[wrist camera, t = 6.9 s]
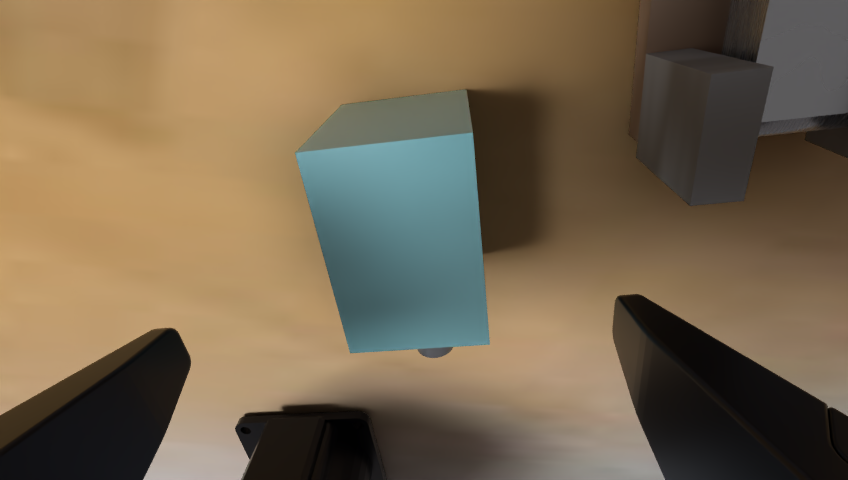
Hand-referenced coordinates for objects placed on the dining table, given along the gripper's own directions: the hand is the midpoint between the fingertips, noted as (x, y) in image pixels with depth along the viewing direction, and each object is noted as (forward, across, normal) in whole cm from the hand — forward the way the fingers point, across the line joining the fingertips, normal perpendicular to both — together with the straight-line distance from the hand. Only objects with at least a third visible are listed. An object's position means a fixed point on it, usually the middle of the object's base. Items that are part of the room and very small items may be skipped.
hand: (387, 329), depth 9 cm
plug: (+8, 0, +1) cm, 8 cm away
